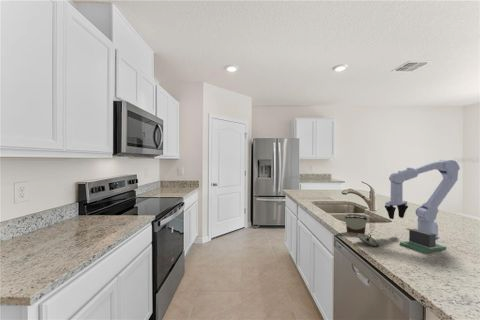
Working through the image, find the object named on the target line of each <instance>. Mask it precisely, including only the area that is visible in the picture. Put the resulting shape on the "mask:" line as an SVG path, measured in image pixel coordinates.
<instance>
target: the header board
mask: <svg viewBox="0 0 480 320" xmlns="http://www.w3.org/2000/svg"><path fill="white" fill-rule="evenodd" d="M399 245H400V246H403V247H406V248H409V249H412V250H414V251H417V252H421V253H424V254H427V253H433V252H437V251H438V252H439V251H444V250H447V246H445V245H443V244H439V243H437V242H435V247H431V248H429V247H426V246H422V245H419V244H416V243H413V242H410V241H409V240H404V241H403V240H402V241H399Z"/></svg>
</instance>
